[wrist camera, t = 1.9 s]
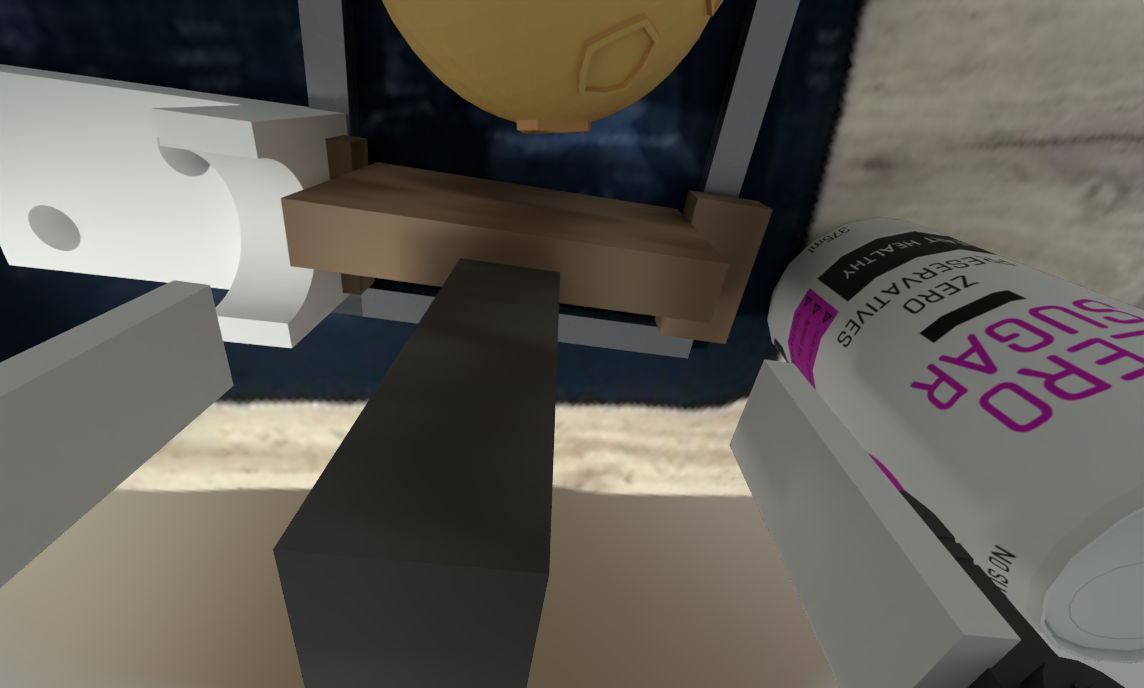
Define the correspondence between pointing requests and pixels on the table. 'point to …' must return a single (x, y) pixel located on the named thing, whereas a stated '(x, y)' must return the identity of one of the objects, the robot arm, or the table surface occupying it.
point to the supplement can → (989, 412)
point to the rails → (723, 174)
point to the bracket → (165, 192)
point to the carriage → (471, 405)
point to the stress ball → (551, 53)
